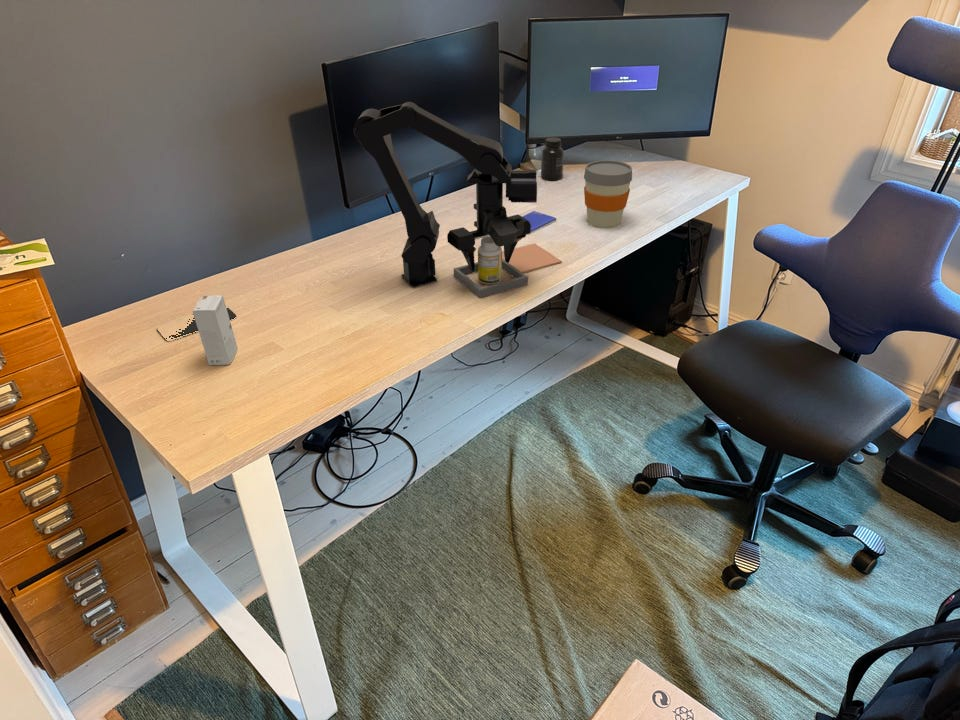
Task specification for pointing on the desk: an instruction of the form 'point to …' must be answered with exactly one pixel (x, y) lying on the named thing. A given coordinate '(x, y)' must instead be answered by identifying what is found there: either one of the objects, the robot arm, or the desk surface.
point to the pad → (531, 258)
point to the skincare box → (215, 330)
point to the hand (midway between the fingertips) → (490, 266)
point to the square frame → (496, 288)
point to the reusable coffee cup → (606, 192)
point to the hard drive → (538, 220)
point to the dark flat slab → (193, 325)
